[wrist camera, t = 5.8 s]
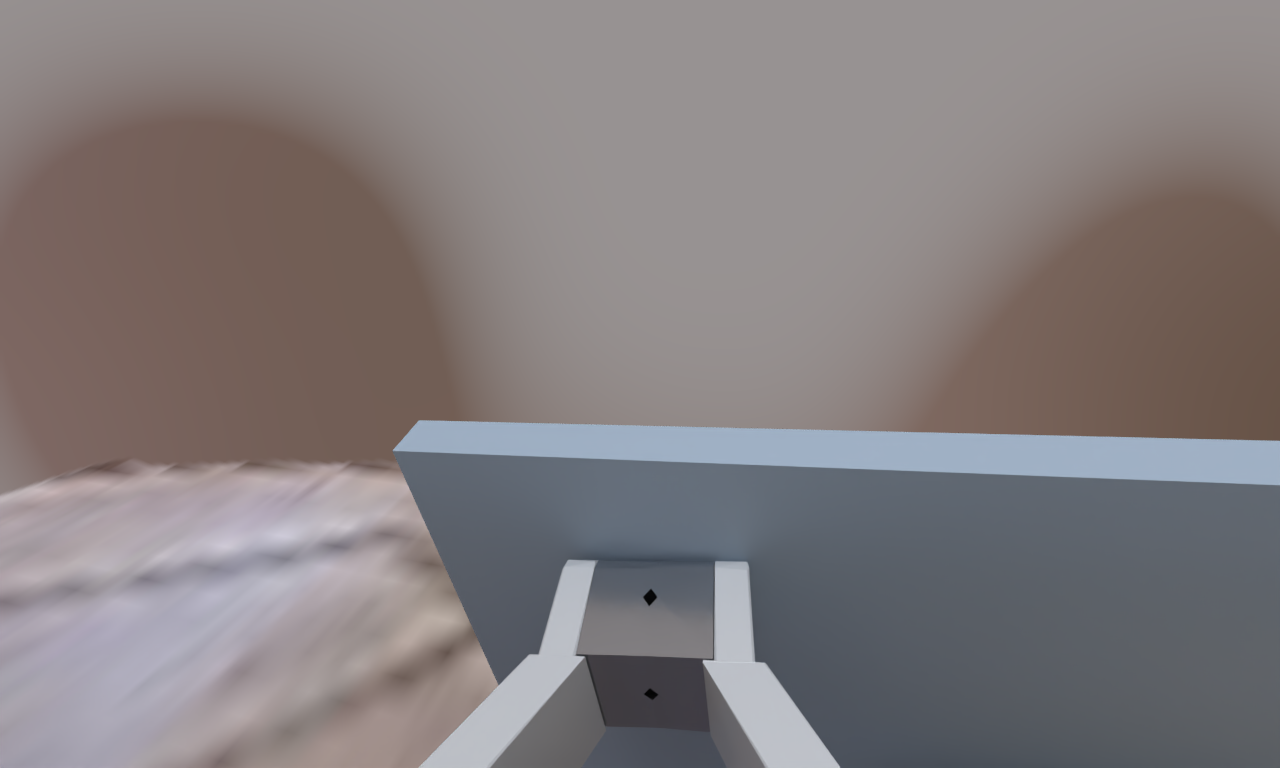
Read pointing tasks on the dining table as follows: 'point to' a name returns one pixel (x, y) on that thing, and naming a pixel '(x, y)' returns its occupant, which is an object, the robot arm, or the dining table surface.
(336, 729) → the dining table surface
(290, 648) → the dining table surface
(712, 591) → the robot arm
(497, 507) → the flap
